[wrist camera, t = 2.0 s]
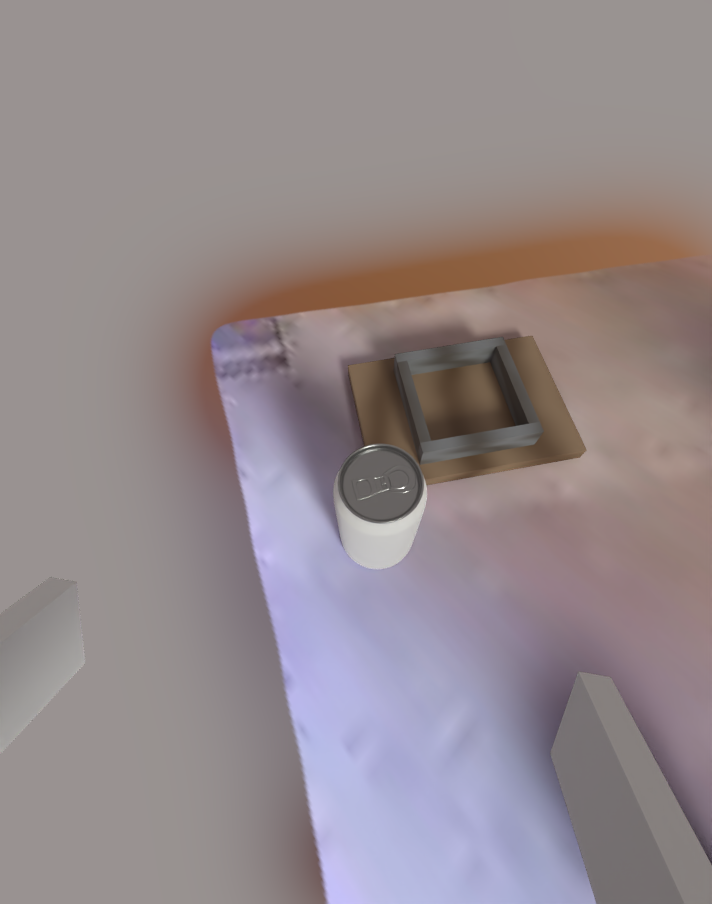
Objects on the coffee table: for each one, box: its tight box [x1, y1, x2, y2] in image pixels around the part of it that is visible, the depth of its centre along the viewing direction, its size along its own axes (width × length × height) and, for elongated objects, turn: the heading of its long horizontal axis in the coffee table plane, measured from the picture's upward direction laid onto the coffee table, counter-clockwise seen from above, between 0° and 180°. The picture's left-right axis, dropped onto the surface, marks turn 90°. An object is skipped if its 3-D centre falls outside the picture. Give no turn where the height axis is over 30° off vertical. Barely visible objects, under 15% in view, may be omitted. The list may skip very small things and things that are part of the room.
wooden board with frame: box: [348, 336, 586, 485], centre depth 43 cm, size 20×14×4 cm
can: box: [333, 444, 427, 569], centre depth 34 cm, size 6×6×12 cm
